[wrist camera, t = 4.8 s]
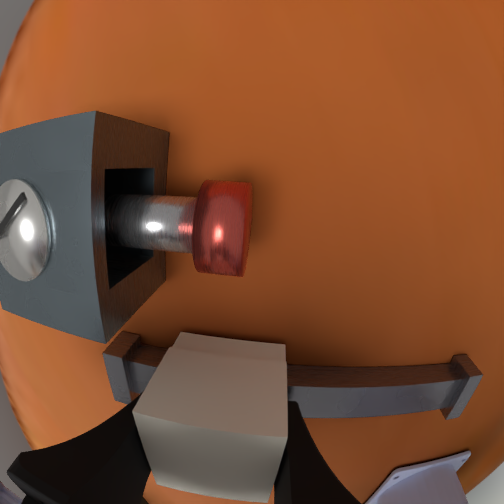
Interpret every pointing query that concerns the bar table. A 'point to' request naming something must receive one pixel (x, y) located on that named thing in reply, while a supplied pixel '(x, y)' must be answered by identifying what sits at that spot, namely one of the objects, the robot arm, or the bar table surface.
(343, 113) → the bar table surface
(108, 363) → the rail
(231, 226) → the plunger
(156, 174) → the gauge cabinet
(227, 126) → the bar table surface
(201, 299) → the bar table surface
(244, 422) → the carriage
